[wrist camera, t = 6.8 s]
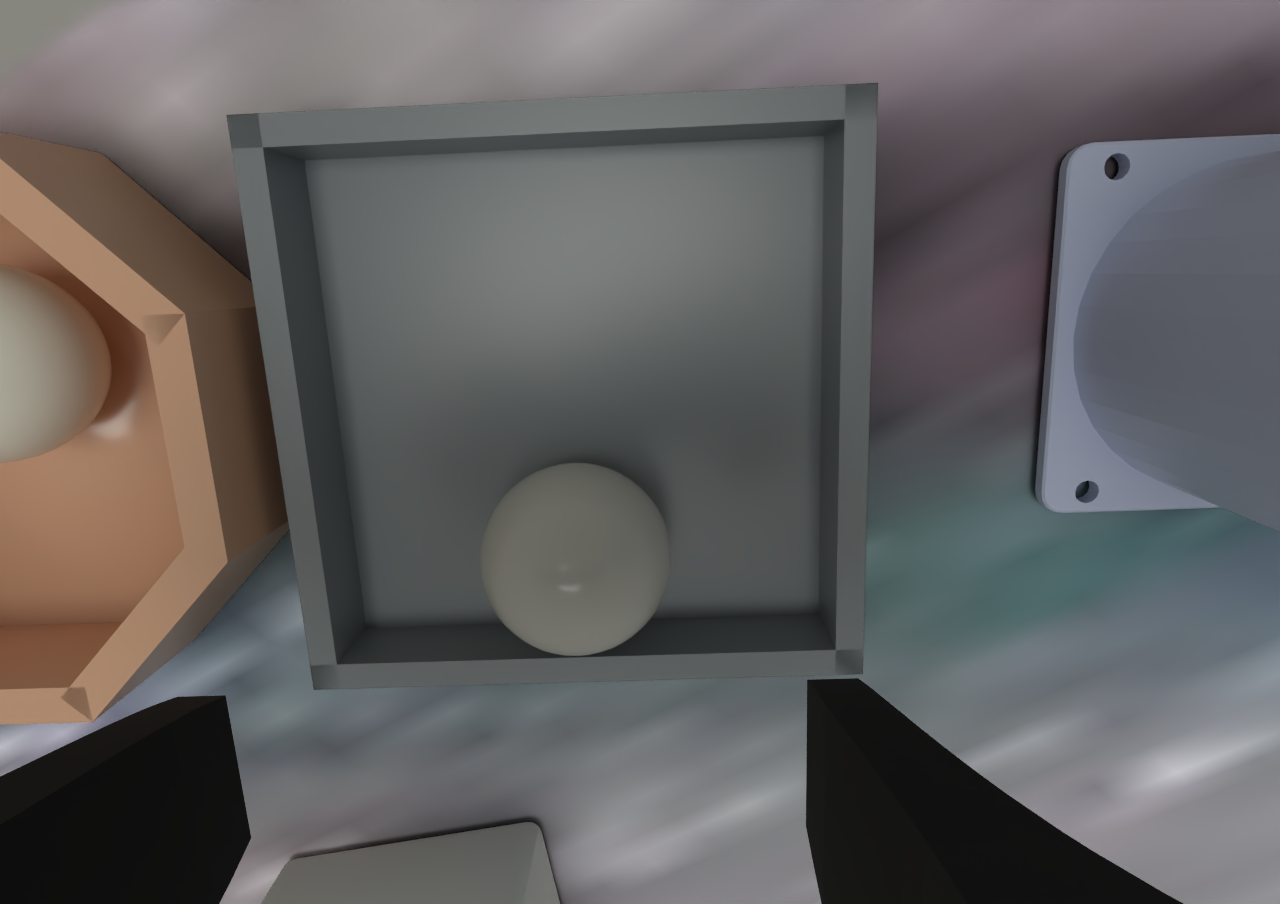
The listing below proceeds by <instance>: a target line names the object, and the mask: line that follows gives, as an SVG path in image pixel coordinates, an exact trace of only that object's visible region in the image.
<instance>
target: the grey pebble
mask: <svg viewBox="0 0 1280 904" xmlns="http://www.w3.org/2000/svg"><path fill="white" fill-rule="evenodd" d="M671 559H672V553H671V543H670V539H669V535H668V531H667V527H666V525H665V522H664V520H663V517H662V515H661V513H660V512H659V510H658V508H657V506H656V505H655V504H654V502H653V501H652V500H651V498H650V497H649V496H648V495H647V494H646V493H645V492H644V491H643V490H642V489H641V488H640V486H638V485H637V484H636V483H634V482H633V481H632V480H631V479H629V478H627V477H626V476H624V475H622V474H621V473H619V472H617V471H614V470H612V469H610V468H606V467H603V466H600V465H595V464H589V463H565V464H559V465H555V466H550V467H547V468H544V469H542V470H539V471H536V472H534V473H533V474H531V475H529V476H527V477H525V478H524V479H522V480H521V481H520V482H518V483H517V484H516V485H515V486H513V487H512V488H511V489H510V490H509V491H508V492H507V493H506V494H505V495H504V496H503V498H502V499H501V500H500V501H499V503H498V504H497V505H496V507H495V509H494V510H493V512H492V514H491V515H490V518H489V520H488V522H487V525H486V527H485V530H484V533H483V537H482V541H481V548H480V573H481V580H482V584H483V587H484V590H485V593H486V596H487V599H488V601H489V603H490V605H491V607H492V609H493V610H494V612H495V613H496V615H497V617H498V618H499V619H500V620H501V621H502V623H503V624H504V625H505V626H506V627H507V628H508V629H509V630H510V631H511V632H512V633H513V634H515V635H516V636H517V637H519V638H520V639H521V640H523V641H524V642H526V643H528V644H530V645H531V646H533V647H536V648H538V649H540V650H543V651H546V652H550V653H553V654H559V655H565V656H581V655H590V654H595V653H599V652H603V651H606V650H609V649H612V648H614V647H616V646H618V645H620V644H622V643H624V642H625V641H627V640H628V639H630V638H631V637H632V636H634V635H635V634H636V633H637V632H638V631H639V630H640V629H642V628H643V627H644V626H645V625H646V623H647V622H648V621H649V620H650V619H651V618H652V616H653V615H654V613H655V612H656V610H657V609H658V607H659V605H660V603H661V601H662V599H663V597H664V595H665V592H666V589H667V586H668V583H669V578H670V572H671Z"/></svg>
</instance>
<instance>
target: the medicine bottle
mask: <svg viewBox="0 0 1280 904" xmlns="http://www.w3.org/2000/svg"><path fill="white" fill-rule="evenodd" d="M261 904H560V901H559V897H558V893H557V889H556V886H555V882H554V878H553V874H552V870H551V866H550V862H549V859H548V855H547V851H546V847H545V843H544V839H543V836H542V832H541V829H540V828H539V826H538V825H536V824H535V823H533V822H524V823H517V824H511V825H505V826H498V827H492V828H486V829H480V830H473V831H467V832H461V833H454V834H448V835H442V836H436V837H429V838H423V839H417V840H411V841H404V842H398V843H392V844H385V845H379V846H373V847H367V848H360V849H354V850H348V851H341V852H335V853H329V854H323V855H316V856H310V857H304V858H297V859H294V860H291V861H289V862H288V863H287V864H286V865H285V866H284V868H283V869H282V871H281V872H280V874H279V876H278V877H277V879H276V880H275V882H274V884H273V885H272V887H271V888H270V890H269V892H268V893H267V895H266V896H265V898H264V900H263V901H262V903H261Z"/></svg>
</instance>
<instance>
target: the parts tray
mask: <svg viewBox="0 0 1280 904" xmlns="http://www.w3.org/2000/svg"><path fill="white" fill-rule="evenodd" d="M877 102H878V83H866V84H846V85H825V86H805V87H785V88H764V89H744V90H724V91H703V92H683V93H663V94H643V95H622V96H602V97H582V98H561V99H541V100H521V101H501V102H480V103H460V104H440V105H419V106H399V107H379V108H359V109H338V110H318V111H298V112H277V113H257V114H237V115H227V121H228V128H229V134H230V141H231V148H232V154H233V161H234V167H235V174H236V181H237V187H238V194H239V200H240V207H241V213H242V220H243V227H244V233H245V240H246V246H247V253H248V260H249V266H250V273H251V279H252V286H253V292H254V299H255V306H256V312H257V319H258V325H259V332H260V339H261V345H262V352H263V358H264V365H265V371H266V378H267V385H268V391H269V398H270V404H271V411H272V418H273V424H274V431H275V437H276V444H277V450H278V457H279V464H280V470H281V477H282V483H283V490H284V497H285V503H286V510H287V516H288V523H289V529H290V536H291V543H292V549H293V556H294V562H295V569H296V576H297V582H298V589H299V595H300V602H301V608H302V615H303V622H304V628H305V635H306V641H307V648H308V655H309V661H310V668H311V674H312V681H313V687H314V690H321V689H357V688H392V687H427V686H462V685H497V684H533V683H568V682H603V681H638V680H673V679H709V678H744V677H779V676H814V675H849V674H863V646H864V607H865V568H866V529H867V490H868V451H869V413H870V374H871V335H872V296H873V257H874V218H875V179H876V141H877ZM565 463H589V464H595V465H600V466H603V467H606V468H610V469H612V470H614V471H617V472H619V473H621V474H622V475H624V476H626V477H627V478H629V479H631V480H632V481H633V482H634V483H636V484H637V485H638V486H640V488H641V489H642V490H643V491H644V492H645V493H646V494H647V495H648V496H649V497H650V498H651V500H652V501H653V502H654V504H655V505H656V506H657V508H658V510H659V512H660V513H661V515H662V517H663V520H664V522H665V525H666V527H667V531H668V535H669V539H670V543H671V553H672V559H671V572H670V578H669V583H668V586H667V589H666V592H665V595H664V597H663V599H662V601H661V603H660V605H659V607H658V609H657V610H656V612H655V613H654V615H653V616H652V618H651V619H650V620H649V621H648V622H647V623H646V625H645V626H644V627H643V628H642V629H640V630H639V631H638V632H637V633H636V634H635V635H634V636H632V637H631V638H630V639H628V640H627V641H625V642H624V643H622V644H620V645H618V646H616V647H614V648H612V649H609V650H606V651H603V652H599V653H595V654H590V655H581V656H565V655H559V654H553V653H550V652H546V651H543V650H540V649H538V648H536V647H533V646H531V645H530V644H528V643H526V642H524V641H523V640H521V639H520V638H519V637H517V636H516V635H515V634H513V633H512V632H511V631H510V630H509V629H508V628H507V627H506V626H505V625H504V624H503V623H502V621H501V620H500V619H499V618H498V617H497V615H496V613H495V612H494V610H493V609H492V607H491V605H490V603H489V601H488V599H487V596H486V593H485V590H484V587H483V584H482V580H481V573H480V548H481V541H482V537H483V533H484V530H485V527H486V525H487V522H488V520H489V518H490V515H491V514H492V512H493V510H494V509H495V507H496V505H497V504H498V503H499V501H500V500H501V499H502V498H503V496H504V495H505V494H506V493H507V492H508V491H509V490H510V489H511V488H512V487H513V486H515V485H516V484H517V483H518V482H520V481H521V480H522V479H524V478H525V477H527V476H529V475H531V474H533V473H534V472H536V471H539V470H542V469H544V468H547V467H550V466H555V465H559V464H565Z"/></svg>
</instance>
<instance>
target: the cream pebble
mask: <svg viewBox="0 0 1280 904" xmlns="http://www.w3.org/2000/svg"><path fill="white" fill-rule="evenodd" d="M111 371H112V365H111V357H110V352H109V348H108V345H107V342H106V339H105V337H104V334H103V332H102V331H101V329H100V327H99V325H98V323H97V322H96V320H95V319H94V318H93V316H92V315H91V314H90V312H89V311H88V310H87V309H86V308H85V307H84V306H83V305H82V304H81V303H80V302H79V301H78V300H77V299H76V298H75V297H73V296H72V295H71V294H70V293H68V292H67V291H66V290H64V289H63V288H62V287H60V286H59V285H57V284H55V283H53V282H51V281H50V280H48V279H46V278H44V277H42V276H40V275H37V274H35V273H32V272H30V271H27V270H24V269H20V268H17V267H13V266H10V265H6V264H0V463H8V462H16V461H21V460H25V459H29V458H33V457H37V456H40V455H43V454H45V453H48V452H50V451H53V450H55V449H57V448H59V447H61V446H62V445H64V444H66V443H68V442H69V441H71V440H72V439H74V438H75V437H76V436H77V435H79V434H80V433H81V432H83V431H84V429H85V428H86V427H87V426H88V425H89V424H90V423H91V422H92V421H93V420H94V419H95V417H96V416H97V414H98V413H99V411H100V410H101V408H102V406H103V404H104V402H105V399H106V397H107V394H108V391H109V388H110V382H111Z"/></svg>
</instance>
